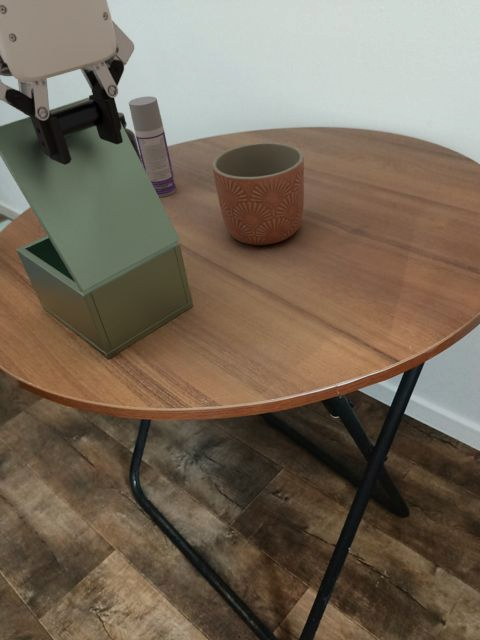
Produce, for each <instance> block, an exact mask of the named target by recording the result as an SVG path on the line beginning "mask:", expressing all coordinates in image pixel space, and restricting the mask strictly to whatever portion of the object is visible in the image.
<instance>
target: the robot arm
mask: <svg viewBox="0 0 480 640" xmlns="http://www.w3.org/2000/svg"><path fill="white" fill-rule="evenodd" d="M134 51H135V44H134V42H133V41H132V40H131V39H130V38H129V36H127V34H126V33H125V32H124V31H123V30H122V29H121V28H120V27H119V26H118V24H116V22H115V21H114V20H113V18H112V15H111V11H110V7H109V4H108V0H0V76H3V77H13V78H14V79H16V80H17V84H18V85H17V86H18V89H16V88H13V87H11V86H9V85H7V84H5V83H4V82H3V81H2V80H1V79H0V101H2V102H4V103H6V104H7V105H9V106H11V107H12V108H14V109H16V110H18V111H19V112H21V113H22V114H24V115H26V116H27V117H29V116H30V118H31V121H32V123H33V126H34V129H35V132H36V134H37V137H38V140H39V143H40V145H41V148H42V150H43V152H44V153H45V154H46V155H47V156H49V157H50V158H51V159H52V160H55V161H57V162H59V163H62V164H64V165H66V164H68V163H70V161H71V156H70V153H69V150H68V147H67V144H66V141H65V138H64V135H63V132H62V129H61V126H60V123H59V120H58V119H57V118H56V117H53V116H51V113H50V110H51V109H50V103H49V102H50V100H49V89H48V79H50V78H53V77H57V76H60V75H64V74H68V73H72V72H75V71H78V70H80V71H81V73H82V75H83V77H84V79H85V80H86V82H87V84H88V86H89V88H90V90H91V94H90V95H88V97H89V100H91V99H92V100H94V101H95V102H96V103H97V104H98V105H99V107H100V109H101V112H102V115H103V122H102V124H100V125H97V126H96V127H97V131H98V134H99V137H100V138H101V139H103V140H105V141H108V142H111V143H114V144H120V143H122V142H123V139H122V136H121V132H120V130H121V123H120V119H119V115H118V108H117V104H116V99H115V98H116V97H117V96H118V94H119V88H118V86H119V83H120V81H121V78H122V77H123V74H124V71H125V65H127V64H128V62H129V60H130V58H131V57H132V55H133V53H134Z"/></svg>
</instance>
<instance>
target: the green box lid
mask: <svg viewBox="0 0 480 640" xmlns="http://www.w3.org/2000/svg"><path fill="white" fill-rule="evenodd" d="M49 110H50V113H51V116H53V117H56V118H57V119H58V120H59V123H60V126H61V129H62V132H63V135H64V138H65V141H66V144H67V147H68V150H69V153H70V156H71V161H70V163H68V164H66V165H64V164H62V163H59V162H57V161H55V160H52V159H51V158H50V157H49V156H47V155H46V154H45V153H44V152H43V150H42V148H41V145H40V143H39V140H38V137H37V134H36V132H35V129H34V126H33V123H32V121H31V118H30V116H25V117H23V118H20V119H16V120H14V121H10V122H8V123H4V124H2V125H0V158H1V160H2V161H3V163H4V165H5V166H6V168H7V170H8V172H9V173H10V175H11V177H12V179H13V180H14V182H15V183H16V185H17V187H18V188H19V190H20V192H21V193H22V195H23V196H24V199H25V200H26V202H27V204H28V206H29V207H30V208H31V210H32V213H34V215H35V217H36V218H37V220H38V222H39V224H40V226H41V227H42V229H43V230H44V232H45V235H48V237H49V239H50V241H51V242H52V244H53V246H54V247H55V249H56V251H57V252H58V254H59V256H60V257H61V259H62V261H63V262H64V264H65V266H66V268H67V269H68V271H69V273H70V274H71V276H72V278H73V279H74V281H75V283H76V284H77V286H78V288H79V289H80V291H81V292H84V291H86V290H88V289H89V288H91V287H93V286H95V285H97V284H99V283H101V282H102V281H104V280H106V279H108V278H110V277H112V276H114V275H116V274H117V273H119V272H121V271H123V270H125V269H127V268H129V267H130V266H132V265H134V264H136V263H138V262H140V261H142V260H144V259H145V258H147V257H149V256H151V255H153V254H155V253H157V252H158V251H160V250H162V249H164V248H166V247H168V246H170V245H172V244H173V243H175V242H177V243H178V242H179V241H180V240H181V238H180V236H179V234H178V232H177V229H176V228H175V226H174V224H173V222H172V220H171V218H170V216H169V215H168V212H167V211H166V209H165V207H164V204H163V202H162V200H161V198H160V197H158V195H157V193H156V191H155V189H154V187H153V185H152V183H151V181H150V179H149V177H148V175H147V173H146V171H145V169H144V167H143V163H141V161H142V160H141V161H140V159H139V157H138V155H137V153H136V151H135V149H134V147H133V146H132V144H131V142H130V140H129V138H128V136H127V134H126V132H125V130H124V128H123V126H122V124H121V130H120V132H121V136H122V139H123V142H122V143H120V144H114V143H111V142H108V141H105V140H103V139H101V138H100V137H99V134H98V131H97V127H96V126H97V125H100V124H102V122H103V115H102V112H101V109H100V107H99V105H98V104H97V103H96V102H95V101H94V100H92V99H91V100H89V96H87V97H85V98H82V99H79V100H75V101H73V102H69V103H67V104H63V105H60V106H57V107H54V108H51V109H49ZM120 123H121V122H120Z"/></svg>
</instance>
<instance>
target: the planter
mask: <svg viewBox="0 0 480 640" xmlns="http://www.w3.org/2000/svg"><path fill="white" fill-rule="evenodd" d="M304 163H305V155H304V153H303V152H302V151H301V149H300V148H298V147H296V146H294V145H291V144H287V143H283V142H271V141H269V142H267V141H265V142H263V141H261V142H253V143H247V144H242V145H238V146H235V147H232V148H230V149H227V150H225V151H223V152H221V153H220V154H218V155H217V156H216V157H215V158H214V160H213V161H212V165H211V166H212V172H213V177H214V182H215V188H216V192H217V193H216V194H217V198H218V204H219V207H220V213H221V216H222V219H223V223H224V226H225V228H226V230H227V232H228V233H229V235H230V236H231V237H232V238H234V239H235V240H237V241H238V242H240V243H242V244H246V245H251V246H268V245H274V244H278V243H280V242H283V241H285V240H288V239H289V238H290V237H292V236H293V235H294V234H295V233H296V232H297V231H298V230H299V228H300V226H301V224H302V221H303V216H304V207H305V206H304V202H305V201H304V199H305V166H304V165H305V164H304Z"/></svg>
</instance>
